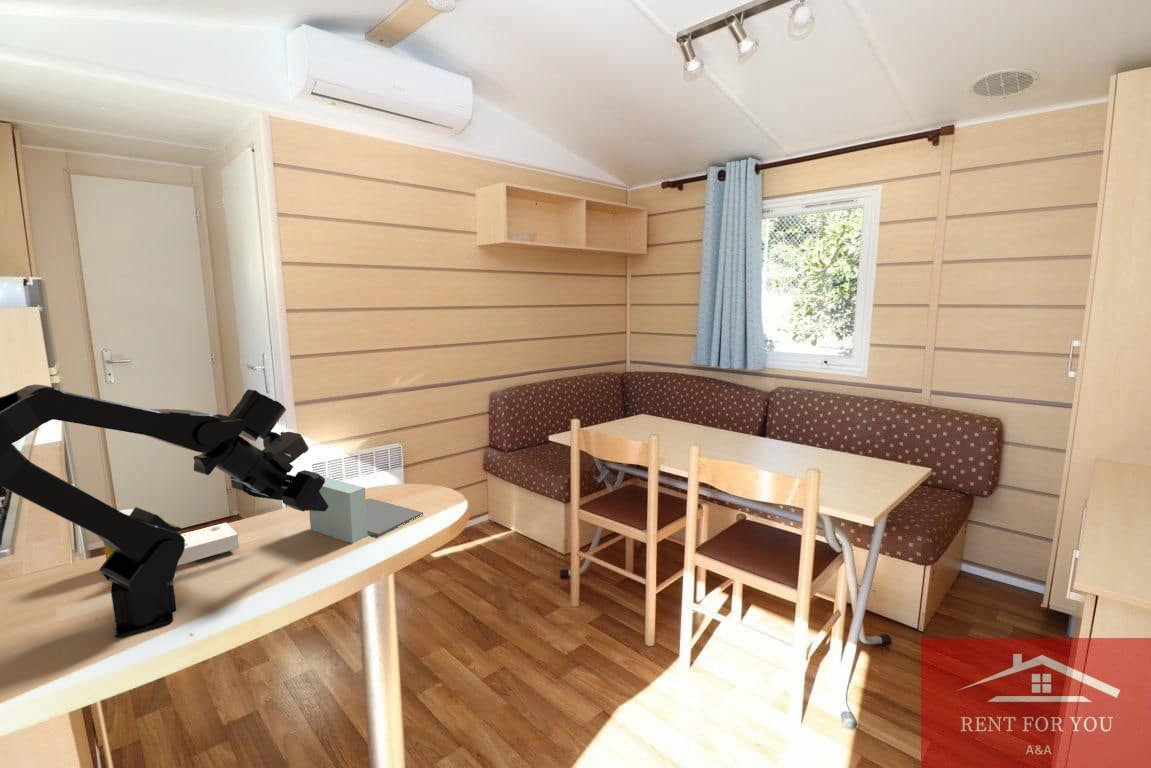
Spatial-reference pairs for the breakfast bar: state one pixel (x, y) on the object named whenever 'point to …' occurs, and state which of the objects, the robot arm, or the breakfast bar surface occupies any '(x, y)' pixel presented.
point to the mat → (386, 516)
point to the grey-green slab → (341, 511)
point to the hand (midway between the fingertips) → (309, 503)
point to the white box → (208, 542)
